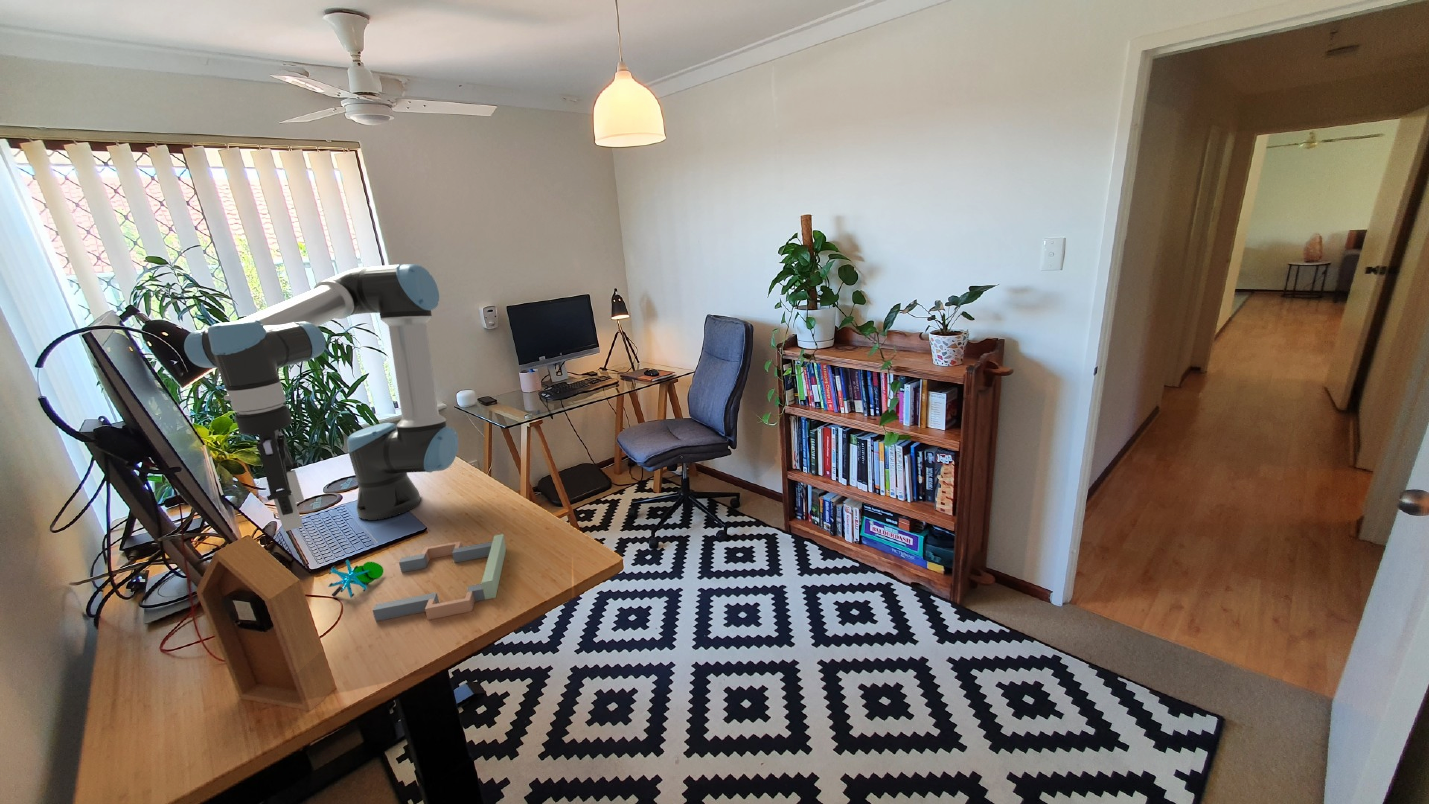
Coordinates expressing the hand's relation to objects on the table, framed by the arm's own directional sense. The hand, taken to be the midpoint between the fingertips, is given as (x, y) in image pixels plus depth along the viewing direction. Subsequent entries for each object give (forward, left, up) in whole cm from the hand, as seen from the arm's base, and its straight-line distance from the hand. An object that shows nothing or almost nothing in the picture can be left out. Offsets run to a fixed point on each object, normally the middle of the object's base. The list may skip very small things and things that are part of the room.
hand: (294, 514), depth 103 cm
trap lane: (-2, +21, -22) cm, 30 cm away
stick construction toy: (-4, +5, -22) cm, 23 cm away
